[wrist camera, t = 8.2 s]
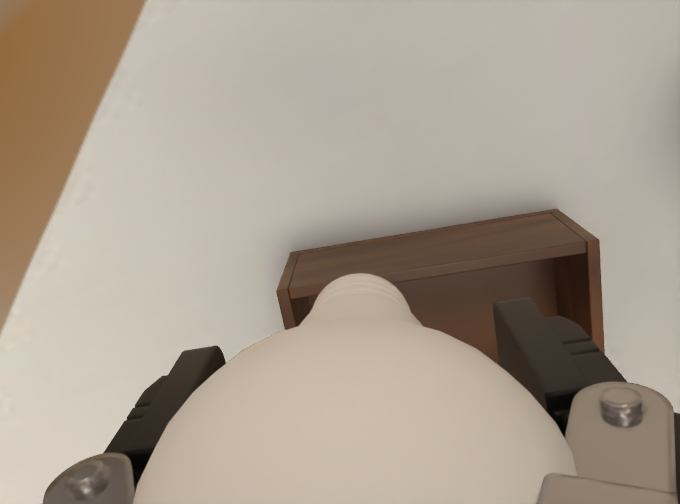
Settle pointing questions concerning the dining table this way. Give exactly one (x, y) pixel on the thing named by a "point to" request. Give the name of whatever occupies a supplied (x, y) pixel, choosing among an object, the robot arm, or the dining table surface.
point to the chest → (465, 274)
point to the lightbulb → (357, 417)
